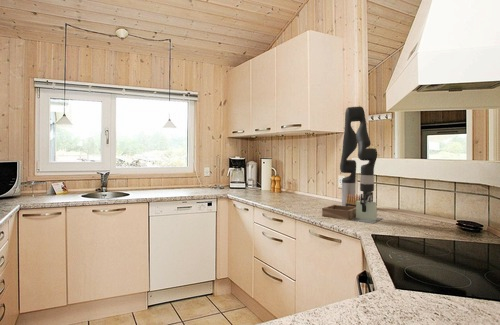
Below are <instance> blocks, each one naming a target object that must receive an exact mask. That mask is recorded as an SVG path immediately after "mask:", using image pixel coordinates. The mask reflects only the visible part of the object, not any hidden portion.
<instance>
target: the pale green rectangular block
mask: <svg viewBox="0 0 500 325" xmlns="http://www.w3.org/2000/svg"><path fill="white" fill-rule="evenodd" d="M363 203H364V202H363ZM377 204H378V202H376V201H373V202H367V204H366V212H362V205H361V204H360V201H356V217H355V218H359V219H366V220H374V221H375V220H377V218H378V216H377V214H378V213H377V212H378V210H377V208H378V207H377V206H378V205H377Z"/></svg>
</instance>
